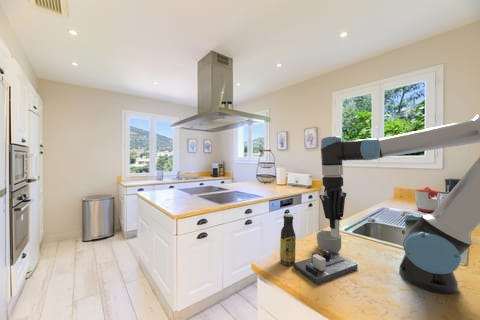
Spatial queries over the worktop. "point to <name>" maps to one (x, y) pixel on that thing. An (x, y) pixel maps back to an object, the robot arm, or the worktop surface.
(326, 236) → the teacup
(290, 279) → the worktop surface
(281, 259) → the sauce bottle
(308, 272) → the board
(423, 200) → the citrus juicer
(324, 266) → the fader
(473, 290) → the worktop surface
